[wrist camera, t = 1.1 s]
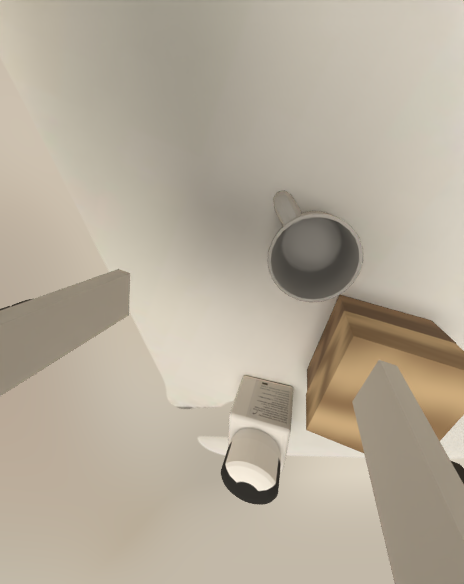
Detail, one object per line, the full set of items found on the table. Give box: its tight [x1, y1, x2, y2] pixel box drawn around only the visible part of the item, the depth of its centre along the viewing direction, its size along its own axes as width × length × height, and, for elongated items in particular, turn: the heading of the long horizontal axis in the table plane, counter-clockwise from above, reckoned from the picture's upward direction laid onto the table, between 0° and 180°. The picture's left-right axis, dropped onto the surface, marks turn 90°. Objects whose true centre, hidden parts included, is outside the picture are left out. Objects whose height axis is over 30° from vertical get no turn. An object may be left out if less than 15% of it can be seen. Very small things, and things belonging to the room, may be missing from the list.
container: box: [221, 376, 293, 504], centre depth 30 cm, size 8×8×13 cm
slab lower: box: [307, 295, 456, 391], centre depth 27 cm, size 12×10×5 cm
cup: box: [268, 190, 363, 302], centre depth 22 cm, size 7×10×9 cm
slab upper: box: [306, 311, 464, 453], centre depth 22 cm, size 12×10×5 cm
